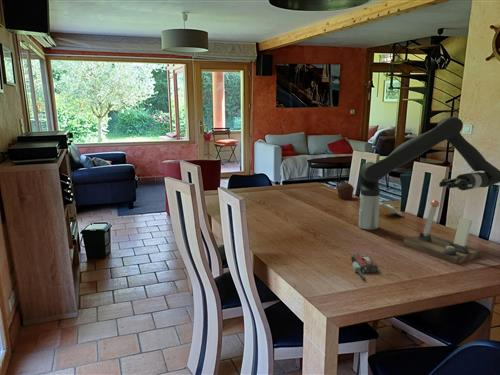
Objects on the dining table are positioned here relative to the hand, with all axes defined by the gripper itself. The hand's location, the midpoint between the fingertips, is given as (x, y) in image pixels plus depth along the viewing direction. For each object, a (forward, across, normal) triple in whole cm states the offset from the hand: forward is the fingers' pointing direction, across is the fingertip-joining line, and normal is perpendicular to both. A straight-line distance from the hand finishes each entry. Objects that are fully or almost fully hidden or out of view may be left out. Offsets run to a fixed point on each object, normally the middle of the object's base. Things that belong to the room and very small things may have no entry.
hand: (444, 185), depth 174 cm
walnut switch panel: (+10, +8, +26) cm, 29 cm away
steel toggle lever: (+10, 0, +22) cm, 24 cm away
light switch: (-15, -43, +26) cm, 52 cm away
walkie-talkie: (+52, +7, +27) cm, 59 cm away
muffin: (-23, -89, +26) cm, 96 cm away
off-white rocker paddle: (+10, +16, +22) cm, 29 cm away
